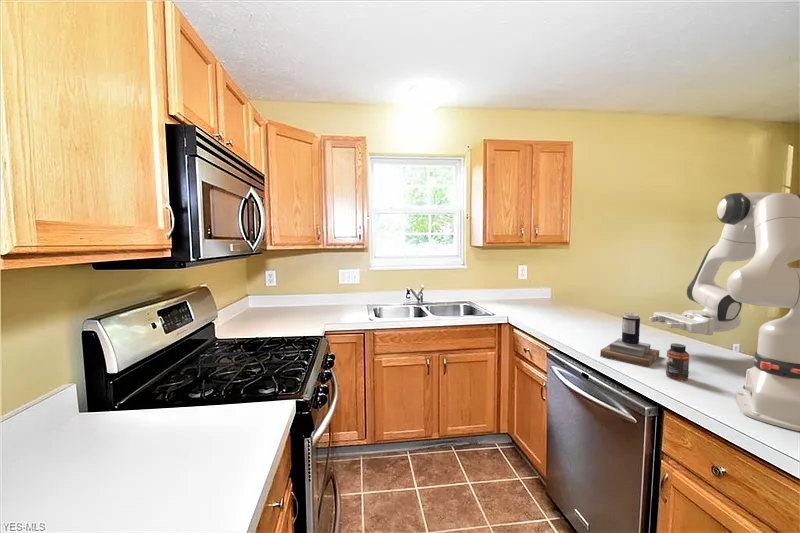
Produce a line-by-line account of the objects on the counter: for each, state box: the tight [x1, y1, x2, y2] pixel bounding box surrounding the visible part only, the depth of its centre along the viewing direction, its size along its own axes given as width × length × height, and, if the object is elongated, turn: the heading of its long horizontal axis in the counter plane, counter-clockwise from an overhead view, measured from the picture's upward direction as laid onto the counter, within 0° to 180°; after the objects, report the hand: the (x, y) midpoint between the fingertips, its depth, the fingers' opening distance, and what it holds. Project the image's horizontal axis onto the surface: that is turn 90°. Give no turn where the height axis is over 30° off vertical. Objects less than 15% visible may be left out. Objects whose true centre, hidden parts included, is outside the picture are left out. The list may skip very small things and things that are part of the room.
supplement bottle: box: [665, 342, 690, 381], centre depth 117 cm, size 6×6×11 cm
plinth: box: [599, 337, 660, 368], centre depth 138 cm, size 16×16×5 cm
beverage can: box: [621, 312, 641, 346], centre depth 137 cm, size 6×6×12 cm
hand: (659, 322), depth 137 cm, fingers open, 8 cm apart
